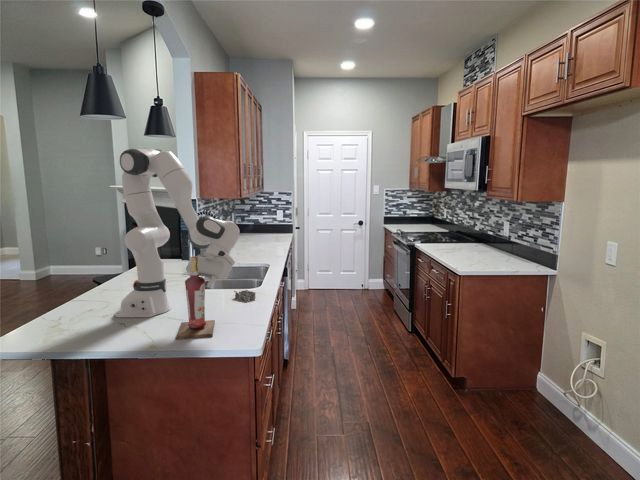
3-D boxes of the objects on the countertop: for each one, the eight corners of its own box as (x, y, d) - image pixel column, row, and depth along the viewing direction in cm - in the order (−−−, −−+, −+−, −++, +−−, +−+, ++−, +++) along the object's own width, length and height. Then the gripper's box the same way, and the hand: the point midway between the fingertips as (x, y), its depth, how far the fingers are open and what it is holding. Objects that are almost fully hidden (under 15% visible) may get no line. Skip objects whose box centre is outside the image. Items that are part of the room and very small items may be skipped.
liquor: (200, 331, 149) (197, 259, 145) (183, 329, 151) (179, 258, 147) (210, 324, 156) (207, 255, 152) (193, 323, 158) (190, 255, 154)
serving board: (176, 339, 145) (175, 336, 145) (181, 325, 159) (181, 322, 159) (212, 336, 147) (212, 333, 147) (214, 322, 162) (214, 320, 162)
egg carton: (232, 298, 197) (232, 290, 197) (245, 295, 203) (244, 287, 202) (245, 302, 190) (245, 294, 189) (257, 299, 195) (257, 291, 195)
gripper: (193, 249, 162) (175, 277, 155) (230, 253, 152) (213, 283, 145) (201, 258, 167) (184, 285, 160) (238, 262, 157) (222, 292, 150)
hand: (198, 284), depth 153 cm, fingers open, 8 cm apart
